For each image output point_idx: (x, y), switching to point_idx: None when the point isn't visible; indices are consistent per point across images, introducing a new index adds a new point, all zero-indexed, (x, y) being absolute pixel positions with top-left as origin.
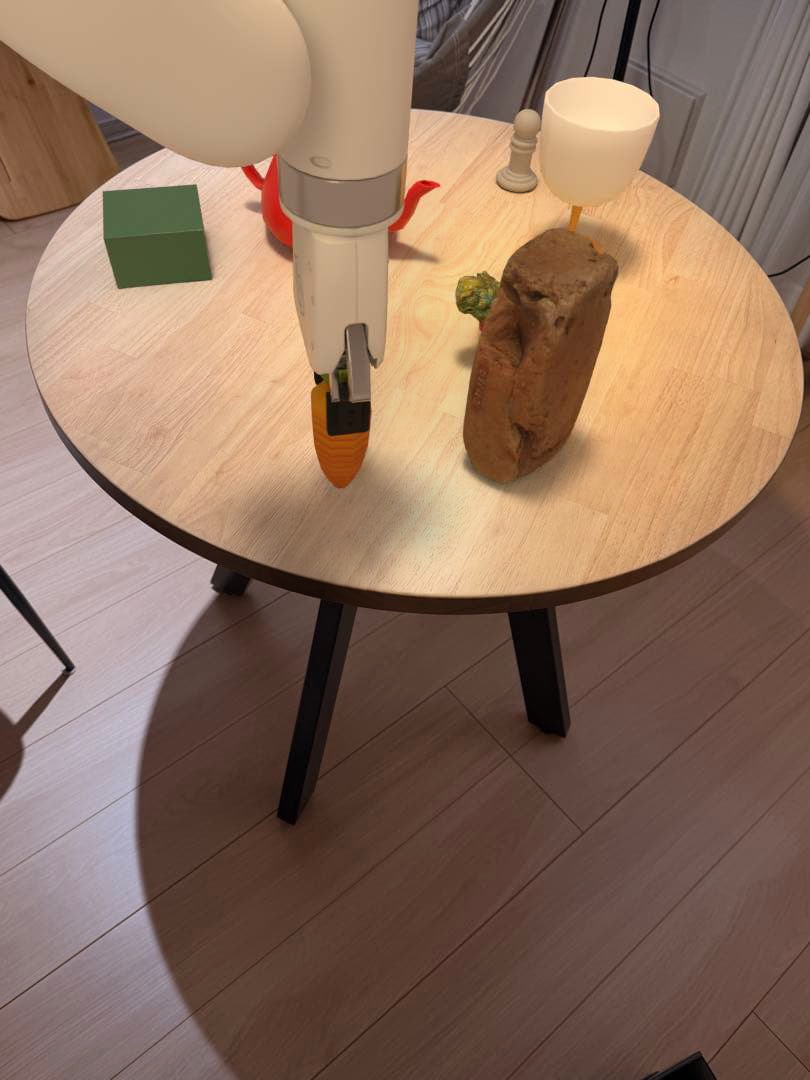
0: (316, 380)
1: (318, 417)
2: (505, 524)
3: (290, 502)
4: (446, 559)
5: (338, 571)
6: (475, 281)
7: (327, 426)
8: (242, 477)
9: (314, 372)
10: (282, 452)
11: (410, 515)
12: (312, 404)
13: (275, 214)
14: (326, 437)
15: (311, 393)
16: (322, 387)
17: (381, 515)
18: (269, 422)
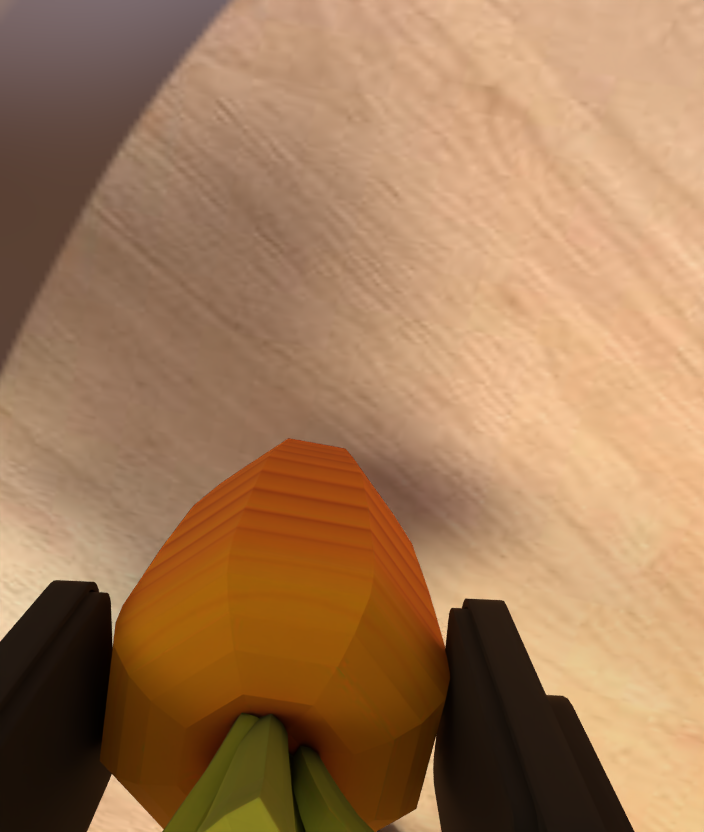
0: (469, 618)
1: (191, 561)
2: (115, 818)
3: (310, 305)
4: None
5: (31, 386)
6: None
7: (29, 611)
8: (450, 173)
9: (492, 641)
10: (519, 322)
11: None
12: (244, 565)
13: None
14: (179, 539)
15: (357, 573)
16: (312, 671)
17: None
18: (663, 307)
